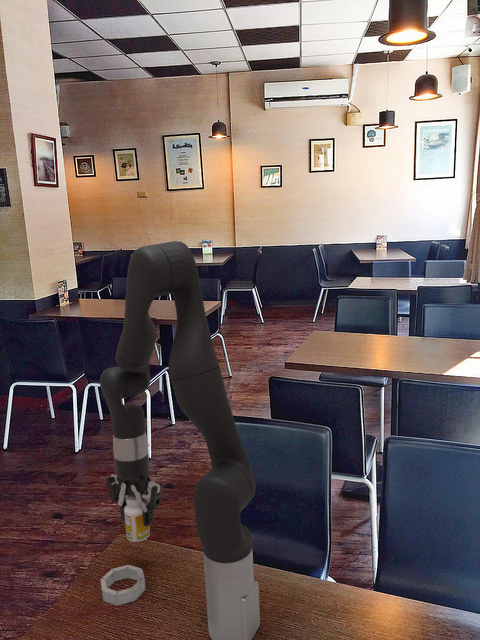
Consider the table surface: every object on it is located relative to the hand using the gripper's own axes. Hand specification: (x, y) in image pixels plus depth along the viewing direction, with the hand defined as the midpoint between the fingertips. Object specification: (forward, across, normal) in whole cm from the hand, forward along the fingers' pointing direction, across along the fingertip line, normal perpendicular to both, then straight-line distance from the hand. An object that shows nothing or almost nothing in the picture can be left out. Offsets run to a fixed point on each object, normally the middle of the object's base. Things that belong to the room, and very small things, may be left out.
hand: (137, 521), depth 117 cm
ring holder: (+11, -1, +8) cm, 14 cm away
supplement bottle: (+4, 0, 0) cm, 4 cm away
